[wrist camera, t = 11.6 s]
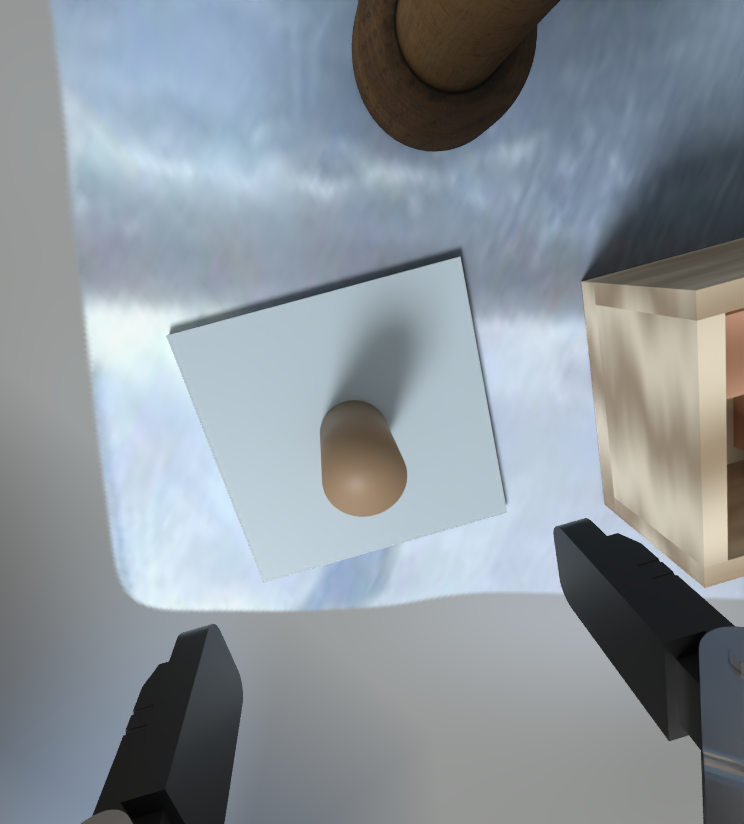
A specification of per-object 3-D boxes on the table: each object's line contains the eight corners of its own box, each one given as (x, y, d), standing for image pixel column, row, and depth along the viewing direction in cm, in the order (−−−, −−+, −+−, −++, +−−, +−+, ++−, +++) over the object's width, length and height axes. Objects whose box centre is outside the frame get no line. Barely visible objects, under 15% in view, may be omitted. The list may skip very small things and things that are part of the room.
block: (638, 314, 22) (695, 323, 19) (710, 294, 22) (780, 300, 19) (642, 386, 23) (698, 407, 20) (711, 366, 23) (778, 384, 20)
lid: (172, 332, 21) (122, 358, 16) (453, 256, 22) (503, 255, 16) (265, 570, 26) (251, 659, 20) (500, 503, 26) (552, 571, 20)
